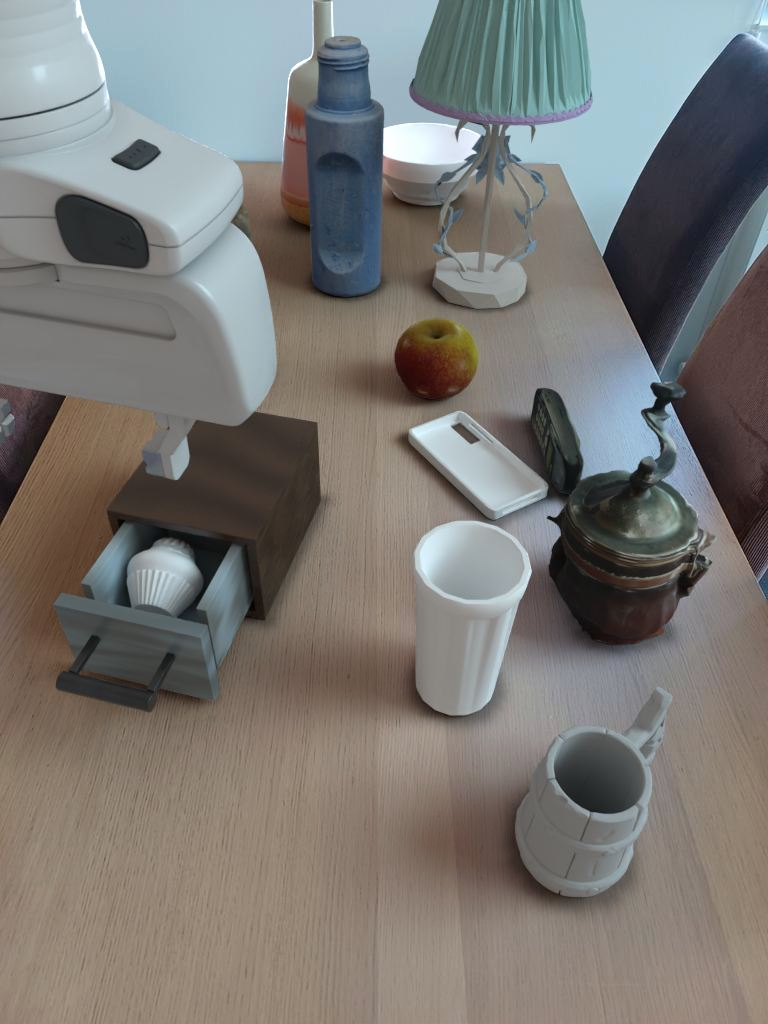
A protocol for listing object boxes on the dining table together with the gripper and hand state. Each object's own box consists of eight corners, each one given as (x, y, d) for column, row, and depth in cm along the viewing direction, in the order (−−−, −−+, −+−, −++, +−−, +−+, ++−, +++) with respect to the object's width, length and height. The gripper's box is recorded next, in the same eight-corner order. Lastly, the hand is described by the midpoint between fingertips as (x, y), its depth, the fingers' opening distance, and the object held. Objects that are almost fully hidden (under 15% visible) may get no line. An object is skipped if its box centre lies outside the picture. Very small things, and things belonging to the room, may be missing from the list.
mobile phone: (531, 384, 86) (567, 471, 75) (558, 383, 87) (598, 470, 75) (525, 422, 90) (558, 511, 78) (551, 421, 90) (588, 509, 79)
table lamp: (542, 252, 120) (596, -76, 93) (570, 326, 105) (646, -43, 77) (397, 251, 120) (409, -81, 92) (404, 326, 104) (421, -48, 76)
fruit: (379, 396, 92) (381, 335, 87) (411, 358, 98) (415, 299, 93) (457, 419, 89) (464, 357, 84) (485, 378, 95) (493, 318, 90)
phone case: (405, 439, 86) (491, 522, 77) (405, 429, 86) (492, 512, 76) (460, 418, 89) (549, 496, 80) (461, 408, 89) (551, 485, 79)
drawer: (188, 755, 58) (171, 693, 52) (45, 719, 60) (14, 655, 54) (279, 566, 71) (272, 502, 66) (160, 542, 73) (145, 477, 68)
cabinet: (265, 620, 68) (255, 540, 62) (129, 590, 70) (105, 509, 64) (321, 500, 79) (317, 422, 73) (202, 477, 81) (188, 399, 75)
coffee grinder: (673, 546, 76) (733, 385, 63) (683, 673, 65) (758, 510, 53) (537, 524, 77) (570, 364, 65) (525, 645, 67) (562, 481, 54)
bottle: (386, 269, 115) (392, 31, 95) (373, 302, 108) (377, 53, 88) (321, 262, 116) (313, 25, 96) (304, 295, 109) (292, 46, 89)
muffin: (146, 586, 59) (173, 510, 63) (96, 605, 62) (125, 532, 66) (208, 624, 63) (229, 550, 67) (158, 640, 66) (181, 568, 70)
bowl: (506, 194, 136) (513, 143, 131) (431, 228, 126) (434, 174, 120) (421, 163, 146) (423, 115, 140) (344, 192, 135) (343, 141, 130)
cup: (502, 737, 60) (529, 615, 51) (395, 719, 61) (402, 596, 51) (508, 651, 66) (534, 527, 56) (411, 636, 67) (420, 511, 57)
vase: (333, 191, 135) (328, -16, 115) (391, 219, 128) (397, 2, 108) (263, 214, 128) (245, -3, 108) (321, 245, 121) (313, 17, 100)
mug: (488, 842, 54) (511, 748, 46) (592, 737, 60) (629, 638, 52) (580, 930, 50) (623, 844, 42) (681, 808, 57) (736, 713, 48)
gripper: (-303, 161, 30) (-148, 453, 39) (217, 238, 27) (250, 535, 36) (-177, 110, 34) (-65, 383, 44) (280, 171, 31) (294, 450, 41)
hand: (80, 452), depth 40 cm, fingers open, 8 cm apart
